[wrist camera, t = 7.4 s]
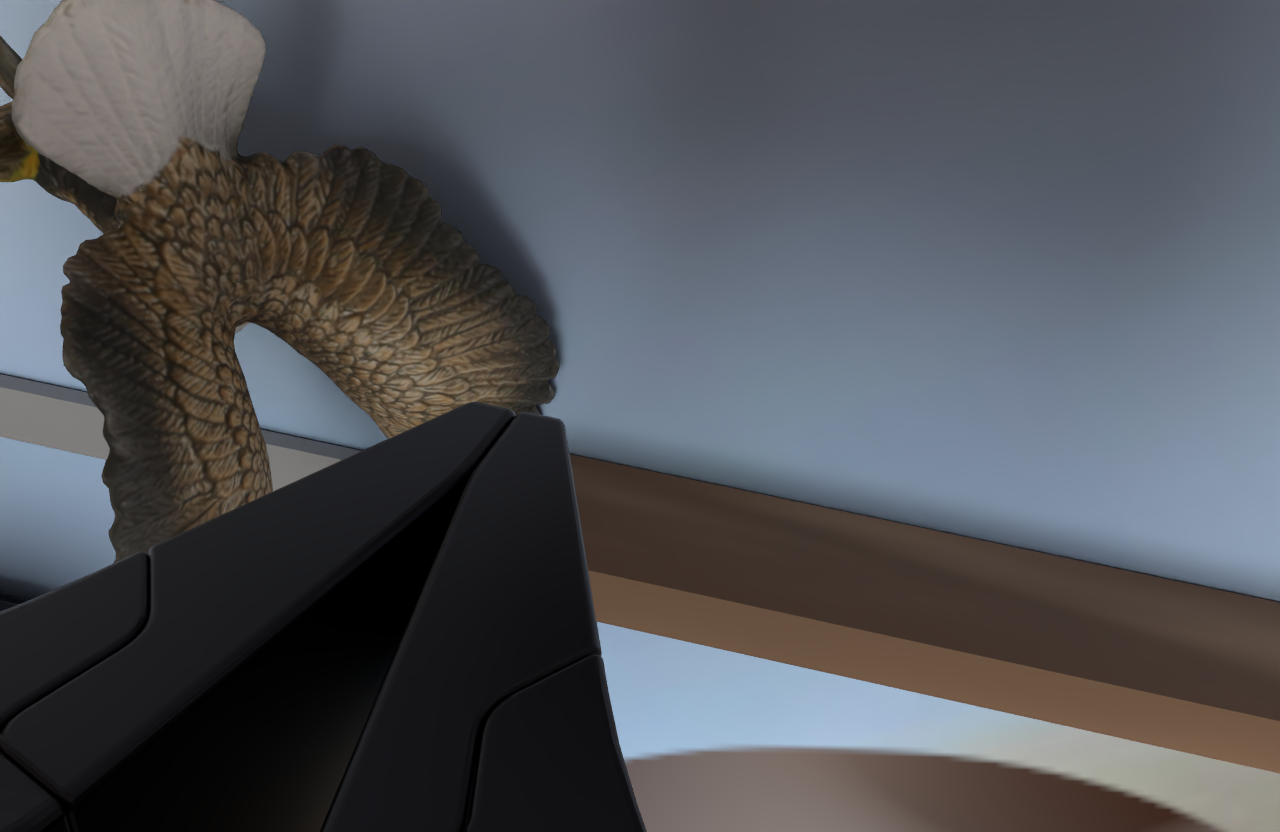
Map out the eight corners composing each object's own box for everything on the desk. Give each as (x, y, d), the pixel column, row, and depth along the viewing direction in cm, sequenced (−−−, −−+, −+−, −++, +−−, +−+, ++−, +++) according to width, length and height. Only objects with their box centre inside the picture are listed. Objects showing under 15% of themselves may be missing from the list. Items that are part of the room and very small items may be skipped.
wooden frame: (1566, 711, 17) (1692, 864, 15) (550, 495, 19) (504, 601, 16) (2235, -46, 11) (2654, -6, 8) (631, -281, 12) (577, -308, 10)
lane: (495, 530, 19) (489, 542, 19) (-77, 406, 20) (-93, 416, 20) (561, -405, 12) (552, -412, 12) (-344, -530, 13) (-375, -539, 13)
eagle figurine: (-72, 258, 17) (262, 665, 18) (-440, 174, 10) (141, 842, 11) (303, 13, 18) (596, 415, 19) (205, -219, 11) (676, 438, 12)
